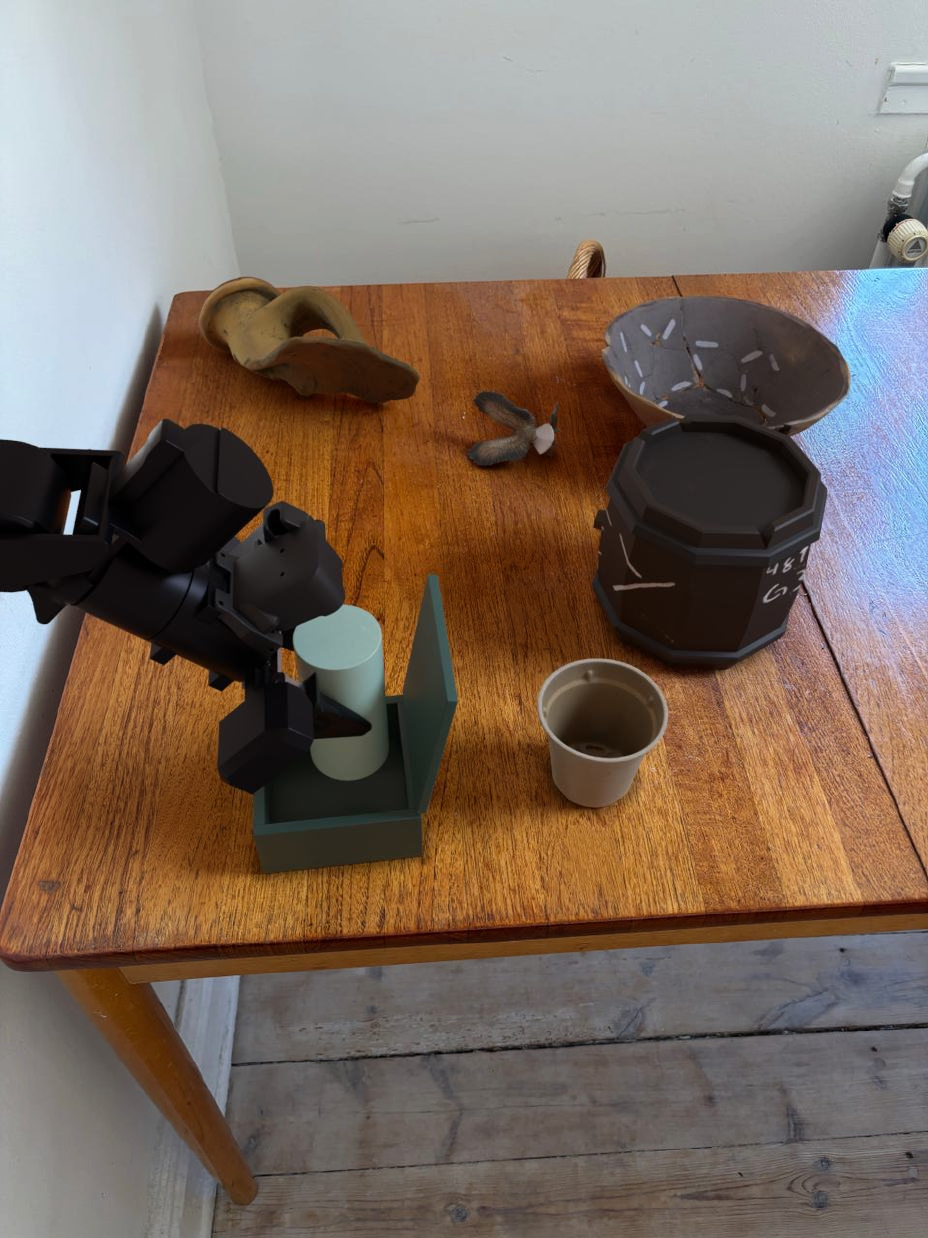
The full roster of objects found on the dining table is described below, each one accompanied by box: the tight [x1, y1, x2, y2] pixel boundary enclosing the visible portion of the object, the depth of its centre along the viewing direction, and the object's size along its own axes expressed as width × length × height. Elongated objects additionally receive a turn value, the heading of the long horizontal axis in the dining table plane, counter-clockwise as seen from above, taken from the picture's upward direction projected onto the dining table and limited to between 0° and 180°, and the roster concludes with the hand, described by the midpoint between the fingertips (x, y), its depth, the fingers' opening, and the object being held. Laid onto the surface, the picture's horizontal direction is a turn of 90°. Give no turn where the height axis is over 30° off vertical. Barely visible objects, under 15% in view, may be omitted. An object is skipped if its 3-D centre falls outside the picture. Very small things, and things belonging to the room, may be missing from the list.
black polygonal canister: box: [591, 414, 828, 671], centre depth 86 cm, size 18×18×16 cm
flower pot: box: [536, 658, 669, 808], centre depth 76 cm, size 9×9×9 cm
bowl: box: [601, 295, 852, 438], centre depth 106 cm, size 25×25×10 cm
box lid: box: [401, 573, 459, 815], centre depth 69 cm, size 12×11×1 cm
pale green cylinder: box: [293, 604, 389, 781], centre depth 68 cm, size 6×6×12 cm
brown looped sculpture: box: [198, 276, 421, 404], centre depth 110 cm, size 18×13×22 cm
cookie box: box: [252, 694, 424, 875], centre depth 75 cm, size 12×11×5 cm
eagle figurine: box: [467, 390, 562, 467], centre depth 105 cm, size 8×7×9 cm
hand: (364, 696), depth 68 cm, fingers closed on pale green cylinder, 5 cm apart
